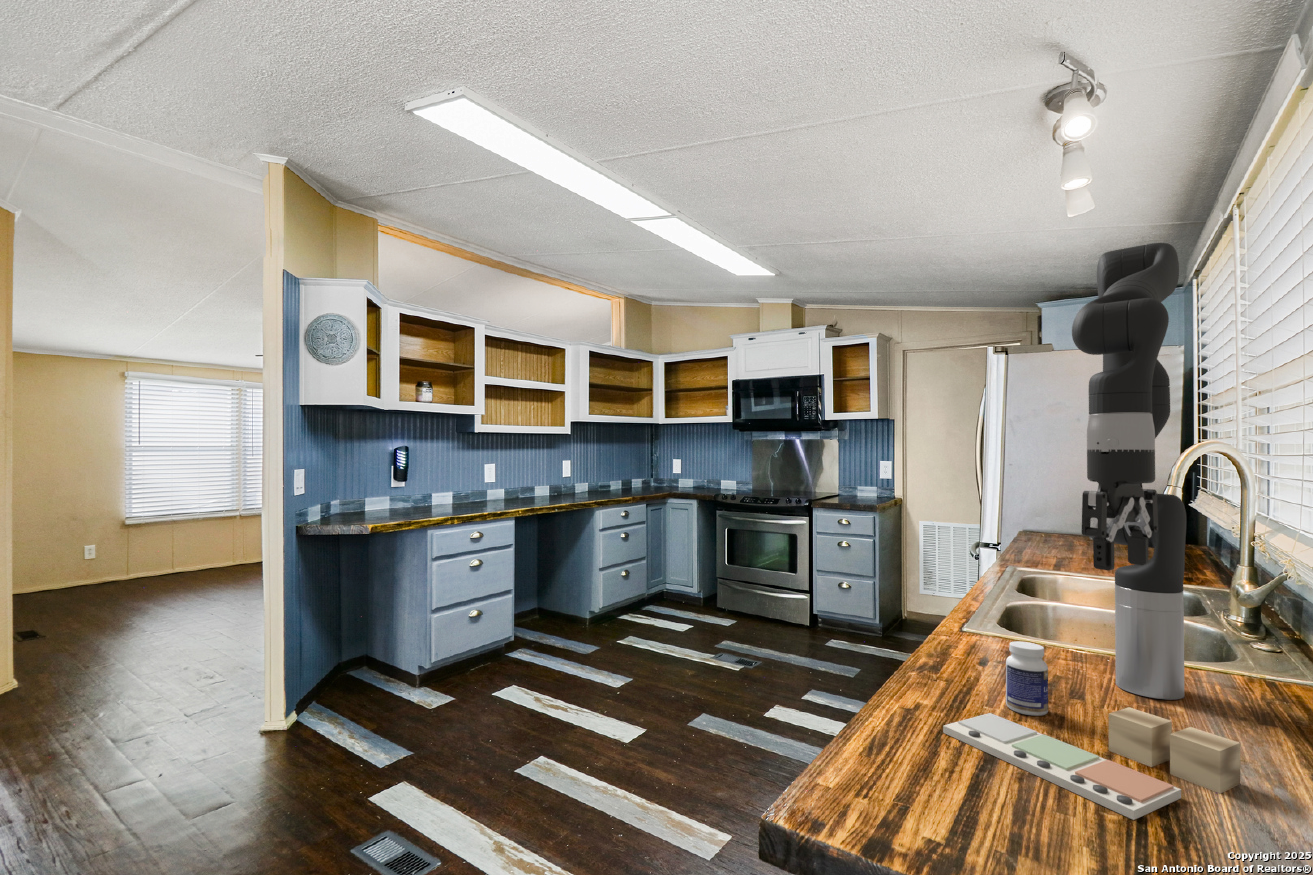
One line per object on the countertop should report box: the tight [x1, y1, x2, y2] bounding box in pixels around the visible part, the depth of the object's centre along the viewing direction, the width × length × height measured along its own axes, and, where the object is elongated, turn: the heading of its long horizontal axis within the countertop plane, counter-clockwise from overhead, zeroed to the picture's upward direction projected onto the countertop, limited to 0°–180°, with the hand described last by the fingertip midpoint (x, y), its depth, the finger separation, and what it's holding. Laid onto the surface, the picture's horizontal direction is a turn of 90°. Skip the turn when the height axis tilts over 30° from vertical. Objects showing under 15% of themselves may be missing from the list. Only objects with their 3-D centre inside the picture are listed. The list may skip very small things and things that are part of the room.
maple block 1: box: [1108, 706, 1173, 768], centre depth 84 cm, size 5×5×5 cm
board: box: [942, 712, 1182, 821], centre depth 82 cm, size 10×24×1 cm, turn 27°
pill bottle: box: [1005, 640, 1049, 717], centre depth 99 cm, size 6×6×10 cm
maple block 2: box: [1169, 726, 1241, 794], centre depth 78 cm, size 5×5×5 cm
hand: (1121, 566), depth 86 cm, fingers open, 8 cm apart
